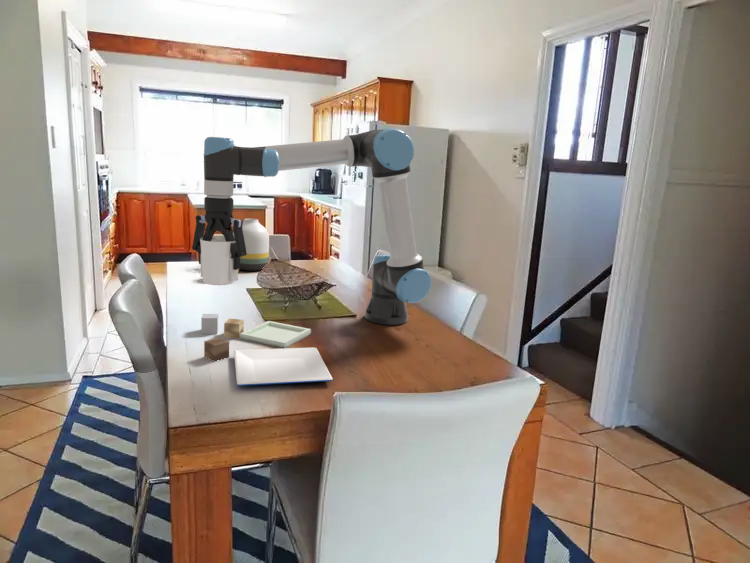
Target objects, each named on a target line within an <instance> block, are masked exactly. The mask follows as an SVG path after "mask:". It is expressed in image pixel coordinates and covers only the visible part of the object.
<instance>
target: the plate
mask: <svg viewBox="0 0 750 563" xmlns="http://www.w3.org/2000/svg"><path fill="white" fill-rule="evenodd" d="M233 356H234V365H235V377H236V378H235V379H236V385H237V386H241V387H242V386H257V385H258V386H260V385H274V384H275V385H278V384H296V383H314V382H331V381H332V380H333V377H332V375H331V373H330V371H329V369H328V366H327V365H326V363H325V361H324V359H323V358H322V356H321V353H320V352H319V350H318V348H317V347H291V348H290V347H287V348H264V349H263V348H261V349H260V348H259V349H258V348H257V349H236V350H233Z"/></svg>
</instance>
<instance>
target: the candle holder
mask: <svg viewBox="0 0 750 563" xmlns="http://www.w3.org/2000/svg"><path fill="white" fill-rule="evenodd" d="M231 243H235V241H231V242H226V240H225V237H224V236H213V237H212V240H211V241H204V240H203V238H201V239H200V245H201V259H202V273H203V277H202V281H203V283H204V284H206V285H209V286H225V285H226V286H227V285H232V284H233V283H235V281H233V282H230V258H231V257H232V255H231V252H230V244H231Z"/></svg>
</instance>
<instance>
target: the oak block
mask: <svg viewBox="0 0 750 563" xmlns="http://www.w3.org/2000/svg"><path fill="white" fill-rule="evenodd" d="M244 321H245V319H238V318H228V319H226V321H225V322H223V337H224V338H227V339H228V338H230V339H240V333H242V332H244V328H245V327H244V325H245V324H244V323H245V322H244Z"/></svg>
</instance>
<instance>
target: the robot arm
mask: <svg viewBox="0 0 750 563" xmlns="http://www.w3.org/2000/svg"><path fill="white" fill-rule="evenodd" d="M203 142H204V143H203V144H204V145H203V146H204V148H203V171H204V172H203V175H204V177H203V180H204V182H203V189H204V190H203V193H204V195H205V197H204V198H203V199H204V201H203V202H204V210H205V214H200V215H196V216H195V223H196V224H195V229H194V236H193V240H192V241H193V242H192V246H191V248H192V250H193V251H196V252H197V253H198V264H199V265H200V278H203V273H202V259H201V245H200V239H201V238H203V240H204V241H211V240H212V237H214V234H215V233H216V232H218V233H221V235H222V236H223V237H225V240H226V242H231V241H235V243H231V244H230V252H231V255H232V257H231V258H230V282H233V281H234V282H237V281H238V280H239V272H238V269H239V270H240V258H241V257H242V256H245V255H247V252H246V246H245V241H244V235H243V230H242V225H243V222H244V219H241V218H240V219H237V218H234V217H233V216H234V215H233V213H234V198H233V196H234V176H235V175H236V176H249V177H250V176H251V177H264V178H268V177H273V178H274V177H276V176H277V175H278V173H279V171H280V172H281V171H282V172H283V171H289V170H300V169H310V168H321V167H329V166H336V165H337V166H339V165H346V166H347V167H349V168H351V167H365V168H366V167H367V168H371V174H372V175H371V176H372V178H373V179H374V180H375V181H376V182H377V183H378V187H379V188H378V189H379V194H380V198H381V200H380V201H381V207H382V213H383V219H384V224H385V232H386V239H387V244H388V250H389V254H377V255H375V256H374V258H373V263H372V281H371V294H370V295H371V296H370V299H369V301H368V304H367V307H366V308H365V312H364V318H365V320H366V321H368V322H370V323H374V324H378V325H379V324H380V325H385V326H387V325H388V326H398V325H403V324H405V323H407V322H408V318H409V314H408V309H407V305H406V303H409V304H416V303H418V302H421V301H422V300H424V299H425V298H426V297H427V295H428V294H429V293H430V290H431V288H432V278H431V275H430V274H429V272H428V271H427V270H425V266H424V259H423V256H421V255H420V254H419V253H418V251H417V244H416V238H415V236H416V235H415V231H414V222H413V216H412V215H413V214H412V209H411V202H410V194H409V187H408V181H407V178H408V176H409V175H410V174H411V165H410V164H411V162H412V160H413V159H414V156H415V155H414V154H415V153H414V152H415V147H414V144H413V141H412V139H411V137H410V136H409V135H408V134H407V133H406V132H404V131H402V130H401V129H398V128H392V127H391V128H383V129H372V130H368V131H365V132H361V133H357V134H356V133H355V134H350V135H349V134H347V135H345V136H344V137H343V138H342V139H331V140H321V141H308V142H298V143H287V144H277V145H276V144H275V145H267V146H266V145H265V146H255V147H249V146H246V147H245V146H237V145H235V143H234V139H233V138H230V137H218V136H207V137H206V138H205V139H204V141H203ZM206 223H207V224H206ZM233 232H234V235H233ZM234 237H235V238H234Z"/></svg>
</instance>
